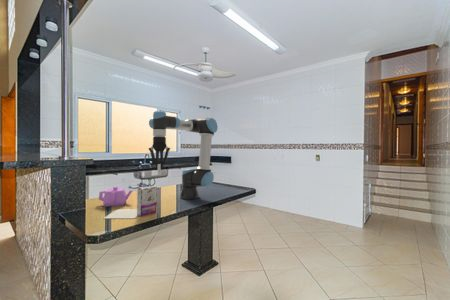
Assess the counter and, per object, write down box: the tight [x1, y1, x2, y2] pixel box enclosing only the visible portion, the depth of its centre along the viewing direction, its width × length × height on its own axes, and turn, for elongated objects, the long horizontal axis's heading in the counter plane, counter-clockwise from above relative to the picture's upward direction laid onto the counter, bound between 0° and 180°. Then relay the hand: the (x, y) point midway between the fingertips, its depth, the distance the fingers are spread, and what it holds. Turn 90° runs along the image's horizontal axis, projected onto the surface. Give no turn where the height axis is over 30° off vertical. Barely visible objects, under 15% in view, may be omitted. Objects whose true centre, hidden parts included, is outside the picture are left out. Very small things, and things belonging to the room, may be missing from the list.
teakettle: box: [98, 186, 133, 207], centre depth 161 cm, size 17×17×12 cm
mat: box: [103, 208, 139, 220], centre depth 138 cm, size 18×18×1 cm
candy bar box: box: [136, 185, 158, 217], centre depth 138 cm, size 11×5×16 cm, turn 143°
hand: (159, 174), depth 138 cm, fingers closed
